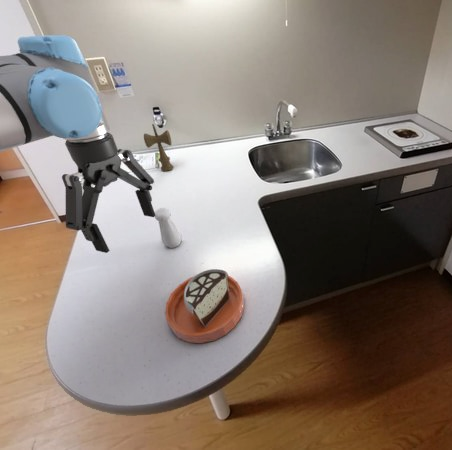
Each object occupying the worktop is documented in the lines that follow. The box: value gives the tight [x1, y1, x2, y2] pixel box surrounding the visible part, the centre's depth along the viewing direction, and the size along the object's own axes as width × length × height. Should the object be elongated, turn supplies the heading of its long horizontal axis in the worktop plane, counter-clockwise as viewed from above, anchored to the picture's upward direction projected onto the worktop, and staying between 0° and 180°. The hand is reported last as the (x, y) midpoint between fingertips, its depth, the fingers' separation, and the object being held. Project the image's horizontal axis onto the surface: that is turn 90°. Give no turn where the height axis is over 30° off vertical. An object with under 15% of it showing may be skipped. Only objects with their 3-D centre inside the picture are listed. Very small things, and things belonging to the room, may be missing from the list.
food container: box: [184, 268, 230, 328], centre depth 74 cm, size 12×6×10 cm, turn 151°
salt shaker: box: [154, 207, 183, 249], centre depth 92 cm, size 6×6×13 cm
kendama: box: [143, 123, 174, 172], centre depth 126 cm, size 6×10×20 cm, turn 107°
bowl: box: [164, 275, 245, 344], centre depth 76 cm, size 18×18×4 cm
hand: (128, 231), depth 67 cm, fingers open, 13 cm apart
